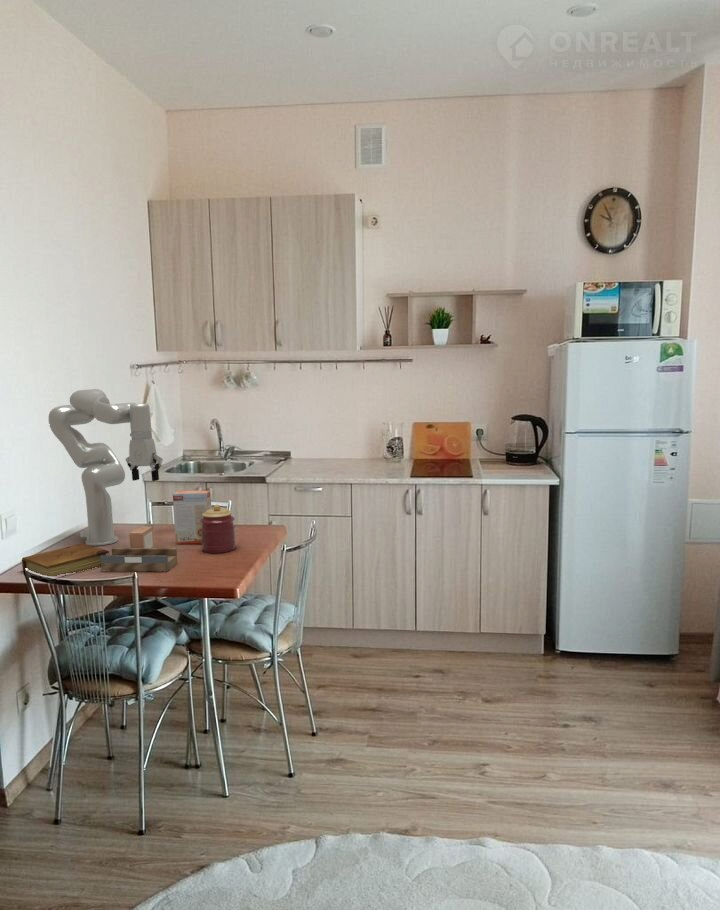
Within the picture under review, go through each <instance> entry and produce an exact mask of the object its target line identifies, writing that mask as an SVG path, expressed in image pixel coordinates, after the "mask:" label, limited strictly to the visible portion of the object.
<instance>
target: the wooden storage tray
mask: <svg viewBox="0 0 720 910" xmlns="http://www.w3.org/2000/svg"><path fill="white" fill-rule="evenodd" d="M177 550H178V548H174V547H172V548H171V547H170V548H169V547H168V548H167V547H165V548H164V547H161V548H160V547H159V548H157V547H154V548H130V547H128V548H127V547H125V548H124V547H123V548H122V547H121V548H120V547H117V548H115V547H113V548H111V554H109V555H108V554H106V555H101V556H100V559H101V567H100V568H101V569H100V570H110V571H109V572H132V573H133V571H153V572H154V571H156V573H157V572H158V573H159V572H161V573H163V572H166V571H168V570H169V569H170V570H171V569H172V568H174V565H175V564H176V563H177V564H178V551H177ZM177 564H176V565H177ZM176 565H175V566H176ZM170 570H169V571H170ZM162 571H163V572H162ZM169 571H168V572H169ZM166 573H167V572H166Z"/></svg>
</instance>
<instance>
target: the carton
mask: <svg viewBox="0 0 720 910" xmlns="http://www.w3.org/2000/svg"><path fill="white" fill-rule="evenodd" d="M129 544H130V545H129V548H155V545H154V544H155V543H154V530H153V526H138V527H137V528H135V529H134V530H132V531H130V532H129Z"/></svg>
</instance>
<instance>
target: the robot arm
mask: <svg viewBox="0 0 720 910" xmlns="http://www.w3.org/2000/svg"><path fill="white" fill-rule="evenodd" d="M150 411H151V410H150V405H149V403H145V402H143V403H142V402H141V403H140V402H139V403H135V402H124V403H114V404H113V403H111V402H110V399H109V398H108V397H107V395H106V393H105V392H104V391H103V390H101V389H98V388H92V389H80V390H76V391H74V392H73V393H72V394H71V395H70V397H69V404H66V405H64V404H63V405H59V406H56V407H54V408H52V409H51V410H50V411H49V414H48V424H50V425H49V428H50V430H51V432H52V434H54V436H55V438H56V439H57V440H58V441H60V443H61V444H62V446H63V447H64V449H65V450H66V452H67V454H68V455H69V456H70V458H71V460H72V462H73V463H74V464H75V465H76V467H78V468H80V469H84V470H83V471H82V474H81V482H82V486H83V490H84V495H85V503H86V515H87V516H86V517H87V526H88V527H87V528H88V530H87V531H81V532H80V533H79V536H80V538H81V539H82V538H83V539H84V538H86V540H84V541H85V543H84V544H86V545H90V546H93V547H97V546H106V545H111V544H114V543H116V542H119V537H118V536H117V535H115V534H114V533H115V532H114V520H113V509H112V508H113V506H112V499H111V496H110V493H109V492H108V491H107V489H106V488H108V487H114V486H115V487H116V486H119V485H120V484H122V483H124V481H125V479H126V471H125V469H124V467H123V465H122V464H121V462H120V461H119V458H117V456H116V455H115V453H114V452H113V450H112V448H111V446H109V445H107V444H106V443H104V442H93V443H89V442H88V441H87V440H86V439H85V436H84V435H83V434H82V433H81V432H80V431H79V430H77V429H76V428H74V427H73V426H78V425H86V424H89V423H91V422H92V421H93V420H94V419H95V420H97V421H99V422H101V423H104V424H108V425H118V424H119V425H120V424H127V423H129V425H130V434H129V436H130V437H131V440H129V447H128V448H129V449H128V455H129V456H128V457H126V458H125V462H126V464H127V467H128V468H129V470H130V471H131V478H132V481H133V482H134V481H138V480H140V471H139V469H138V468H139V467H150V469H151V471H150V473H151V481H152V482H155V481H159V480H160V475H159V474H160V473H159V470H160V468H161V467H162V463H163V461H164V460H163V459H164V458H162V457H160V456H159V455H158V454H157V448H156V445H155V439H153V434H152V433H153V432H152V430H153V429H152V422H151V421H152V420H151V412H150Z"/></svg>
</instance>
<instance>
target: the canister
mask: <svg viewBox="0 0 720 910" xmlns="http://www.w3.org/2000/svg"><path fill="white" fill-rule="evenodd" d="M232 514H233V512H232V511H231V510H229V509H228V508H224V507H221V506H220V504H215V505H213V508H211V509H209V510H207V511H206V512H204V513H203V514H202V516H204V517H203V518H202V519H201V520H200V522H201V523H202V528H201V532H202V544H201V548H202V551H203V552H205V553H209V554H219V553H220V554H221V553H226V552H230V551H234V550H235V549H236V544H237V542H236V531H235V528H236V526H235V525H234V521H235V520H236V519H235V517H234V516H233V515H232Z"/></svg>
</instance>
